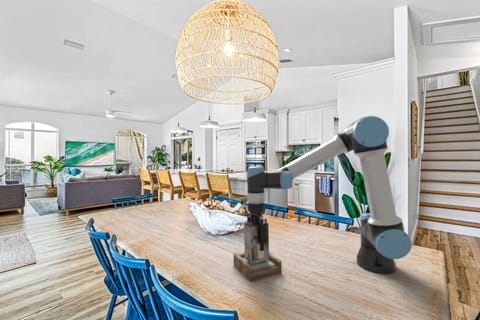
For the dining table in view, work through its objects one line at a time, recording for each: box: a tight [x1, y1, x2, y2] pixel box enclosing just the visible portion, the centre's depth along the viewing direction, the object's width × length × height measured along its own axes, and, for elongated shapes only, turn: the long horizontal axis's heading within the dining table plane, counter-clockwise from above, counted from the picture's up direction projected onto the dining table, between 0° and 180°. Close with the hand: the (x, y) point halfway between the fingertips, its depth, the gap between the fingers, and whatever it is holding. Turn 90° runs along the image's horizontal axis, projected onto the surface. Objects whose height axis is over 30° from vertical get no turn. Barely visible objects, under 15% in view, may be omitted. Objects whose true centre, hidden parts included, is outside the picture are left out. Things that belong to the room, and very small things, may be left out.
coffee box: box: [243, 221, 270, 264], centre depth 101 cm, size 9×6×16 cm
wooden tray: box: [233, 252, 283, 283], centre depth 102 cm, size 16×15×5 cm
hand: (256, 254), depth 102 cm, fingers closed on coffee box, 6 cm apart
